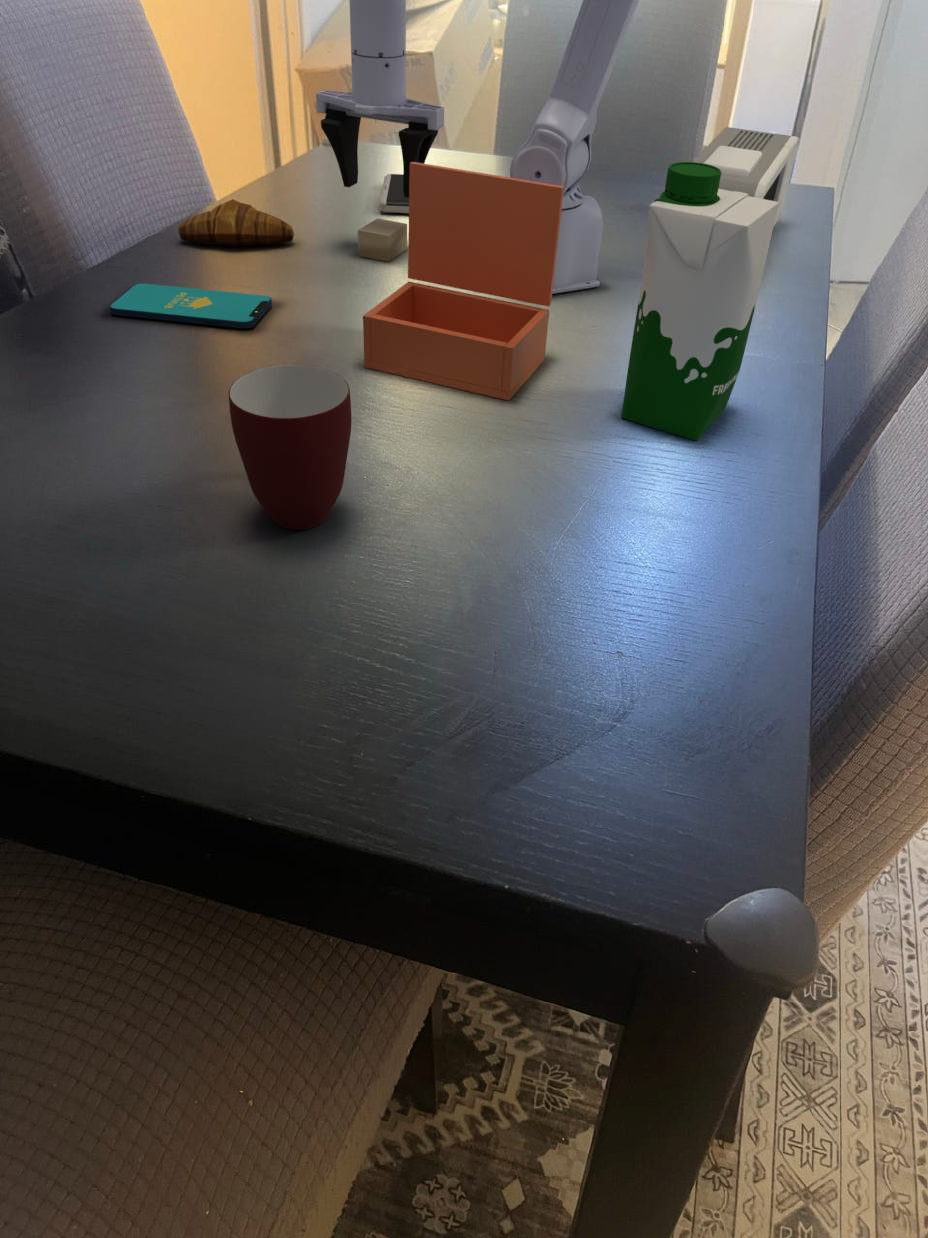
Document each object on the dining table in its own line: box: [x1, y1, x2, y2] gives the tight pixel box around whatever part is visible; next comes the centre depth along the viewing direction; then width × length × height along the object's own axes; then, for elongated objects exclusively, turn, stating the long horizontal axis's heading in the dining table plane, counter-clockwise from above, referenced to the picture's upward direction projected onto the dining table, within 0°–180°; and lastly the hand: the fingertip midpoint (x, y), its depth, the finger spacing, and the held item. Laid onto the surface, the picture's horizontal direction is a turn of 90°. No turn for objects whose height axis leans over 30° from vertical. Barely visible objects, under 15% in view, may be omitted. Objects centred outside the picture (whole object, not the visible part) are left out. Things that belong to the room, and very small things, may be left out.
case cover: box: [407, 162, 564, 307], centre depth 87 cm, size 10×15×1 cm
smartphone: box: [109, 283, 273, 329], centre depth 97 cm, size 7×1×15 cm
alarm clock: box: [692, 126, 800, 228], centre depth 116 cm, size 27×9×12 cm, turn 157°
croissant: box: [177, 199, 295, 247], centre depth 112 cm, size 14×7×5 cm, turn 94°
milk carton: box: [620, 161, 779, 442], centre depth 78 cm, size 9×9×20 cm
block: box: [357, 218, 408, 263], centre depth 112 cm, size 5×4×3 cm
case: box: [362, 281, 550, 401], centre depth 89 cm, size 10×15×5 cm, turn 67°
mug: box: [228, 363, 352, 531], centre depth 68 cm, size 11×8×10 cm
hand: (380, 190), depth 108 cm, fingers open, 7 cm apart
